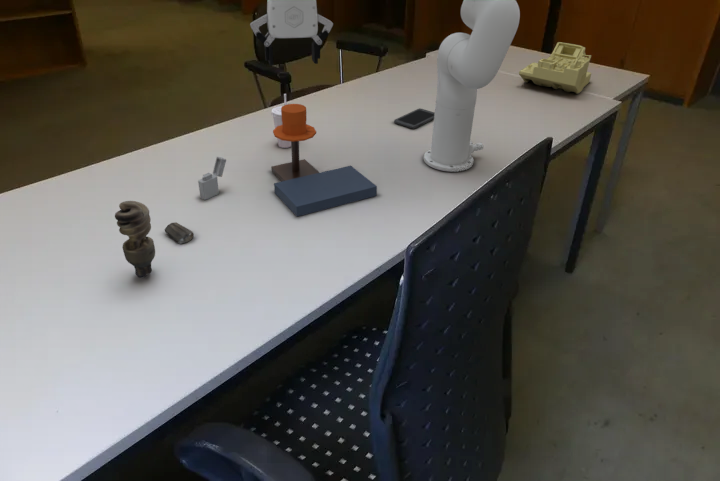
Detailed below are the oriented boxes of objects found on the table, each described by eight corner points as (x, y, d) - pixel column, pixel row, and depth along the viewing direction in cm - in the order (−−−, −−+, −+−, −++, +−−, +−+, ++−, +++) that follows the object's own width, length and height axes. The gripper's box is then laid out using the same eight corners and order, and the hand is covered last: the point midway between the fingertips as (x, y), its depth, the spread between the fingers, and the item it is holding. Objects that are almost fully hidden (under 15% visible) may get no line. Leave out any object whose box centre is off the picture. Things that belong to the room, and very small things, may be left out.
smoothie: (293, 151, 151) (291, 99, 144) (269, 148, 152) (266, 96, 145) (300, 141, 156) (298, 90, 149) (277, 139, 157) (274, 88, 150)
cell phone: (439, 116, 174) (440, 113, 174) (413, 129, 165) (413, 127, 165) (419, 110, 178) (419, 107, 178) (392, 122, 169) (393, 120, 169)
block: (177, 227, 119) (176, 220, 118) (196, 237, 116) (195, 230, 115) (162, 234, 116) (161, 227, 115) (181, 245, 113) (180, 237, 112)
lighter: (205, 200, 129) (200, 167, 124) (200, 197, 129) (195, 165, 125) (229, 188, 133) (226, 157, 129) (224, 186, 134) (220, 154, 130)
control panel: (541, 33, 207) (600, 36, 197) (539, 74, 216) (594, 80, 207) (517, 58, 192) (579, 64, 182) (516, 102, 202) (575, 109, 192)
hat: (304, 122, 139) (304, 97, 136) (323, 136, 132) (323, 111, 129) (266, 129, 135) (264, 104, 132) (283, 144, 128) (282, 119, 125)
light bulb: (133, 266, 107) (117, 195, 99) (164, 266, 108) (150, 195, 99) (126, 285, 103) (108, 212, 94) (157, 284, 103) (142, 211, 95)
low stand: (350, 174, 141) (350, 165, 140) (376, 195, 132) (376, 186, 131) (274, 192, 132) (273, 183, 131) (296, 216, 124) (296, 206, 122)
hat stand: (304, 164, 145) (303, 111, 137) (321, 179, 138) (320, 124, 131) (271, 171, 141) (268, 117, 133) (286, 187, 135) (284, 131, 127)
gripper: (249, -20, 111) (254, 69, 120) (337, -20, 115) (335, 66, 125) (245, -26, 117) (250, 59, 126) (329, -26, 121) (328, 56, 131)
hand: (293, 62), depth 126 cm, fingers open, 9 cm apart
